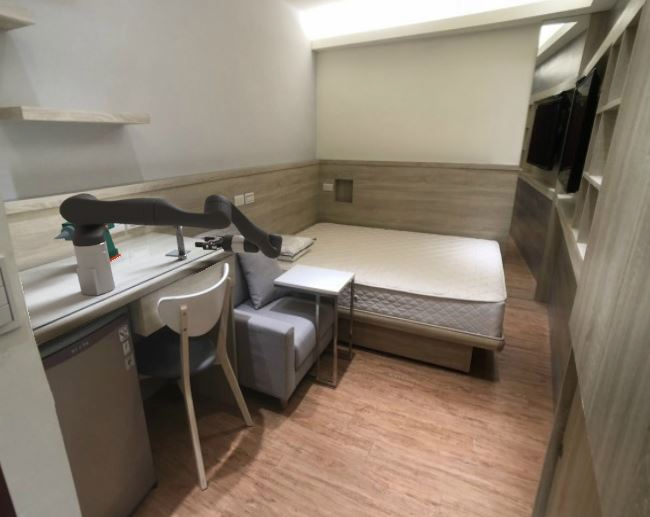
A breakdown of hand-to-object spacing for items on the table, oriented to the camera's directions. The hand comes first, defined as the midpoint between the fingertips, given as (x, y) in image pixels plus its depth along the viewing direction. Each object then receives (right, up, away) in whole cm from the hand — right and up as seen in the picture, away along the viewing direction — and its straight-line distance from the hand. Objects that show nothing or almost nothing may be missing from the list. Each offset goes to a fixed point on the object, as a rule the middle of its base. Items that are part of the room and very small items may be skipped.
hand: (200, 241), depth 150 cm
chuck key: (-9, -8, +4) cm, 12 cm away
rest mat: (-14, -5, +11) cm, 19 cm away
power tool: (-41, -12, -8) cm, 43 cm away
